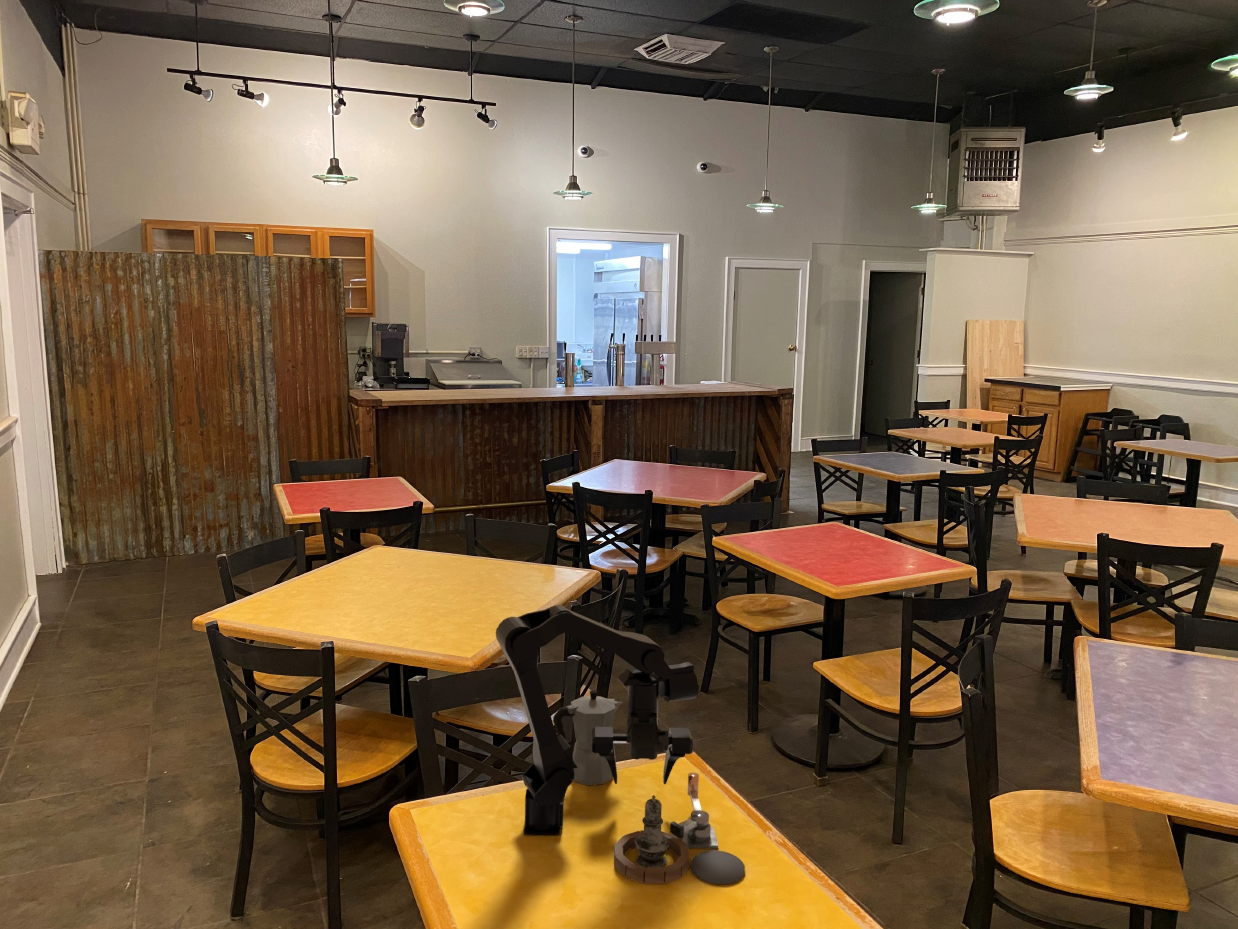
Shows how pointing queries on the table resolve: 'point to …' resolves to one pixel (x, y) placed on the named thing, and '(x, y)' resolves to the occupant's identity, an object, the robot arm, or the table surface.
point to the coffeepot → (588, 735)
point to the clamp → (697, 816)
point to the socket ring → (651, 873)
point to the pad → (717, 867)
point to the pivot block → (700, 838)
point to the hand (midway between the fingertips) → (640, 783)
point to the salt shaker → (652, 837)
